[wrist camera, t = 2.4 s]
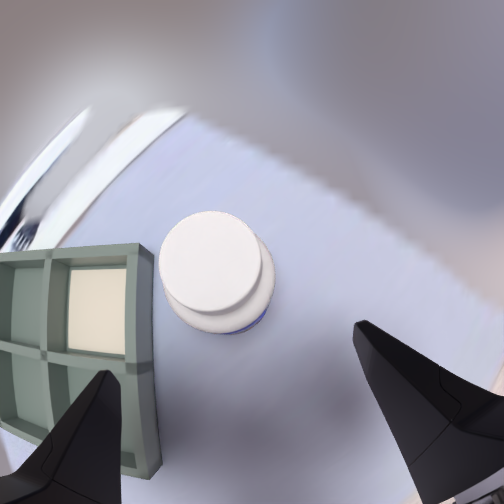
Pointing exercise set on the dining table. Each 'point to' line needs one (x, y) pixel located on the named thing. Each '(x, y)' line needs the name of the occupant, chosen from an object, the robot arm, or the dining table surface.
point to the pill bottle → (216, 273)
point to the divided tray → (79, 341)
